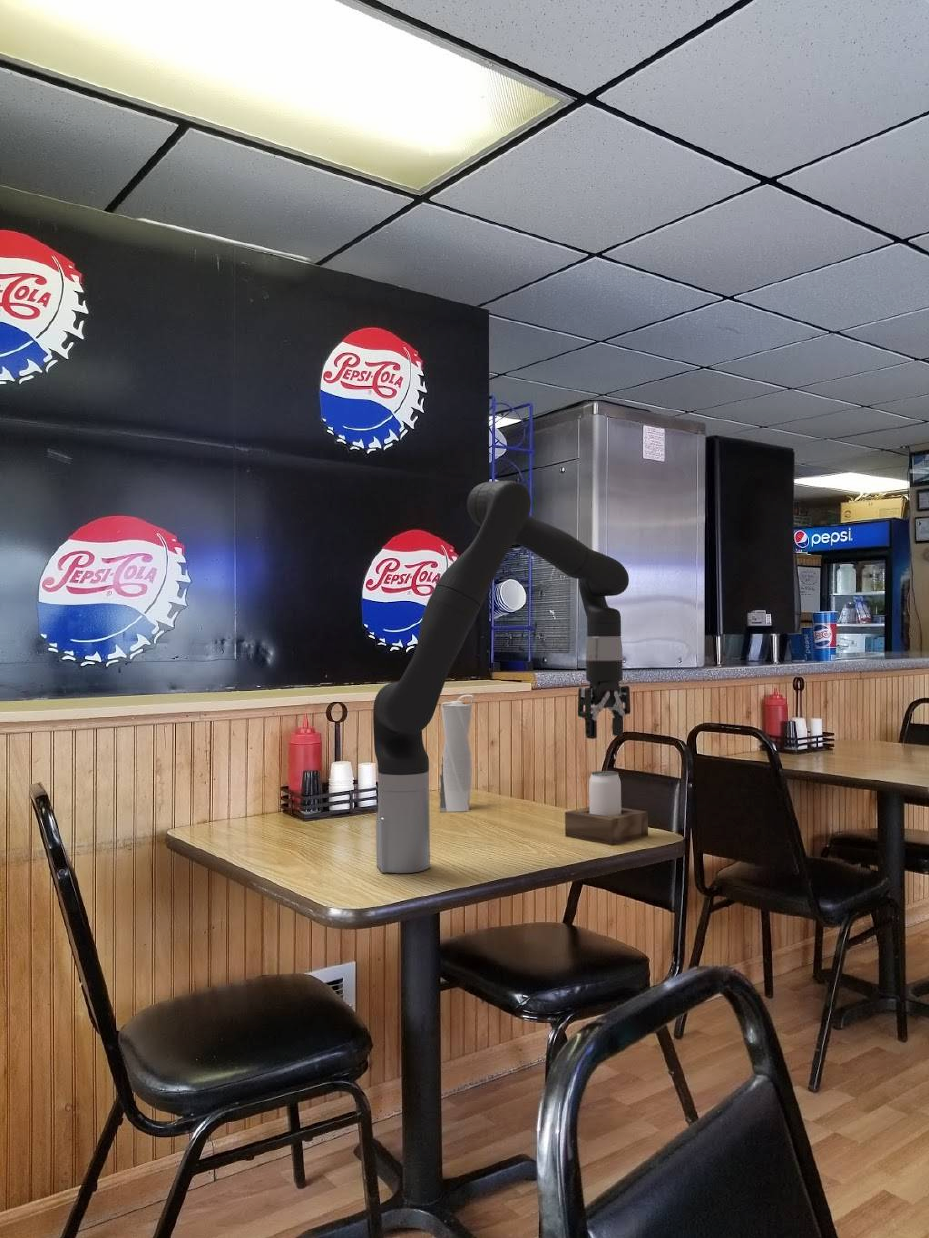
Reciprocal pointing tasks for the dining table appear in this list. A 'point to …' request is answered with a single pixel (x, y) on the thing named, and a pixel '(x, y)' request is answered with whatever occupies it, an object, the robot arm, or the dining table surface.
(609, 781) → the can
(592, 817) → the box
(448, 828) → the dining table surface
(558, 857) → the dining table surface
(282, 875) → the dining table surface
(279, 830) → the dining table surface
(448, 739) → the grey water bottle
